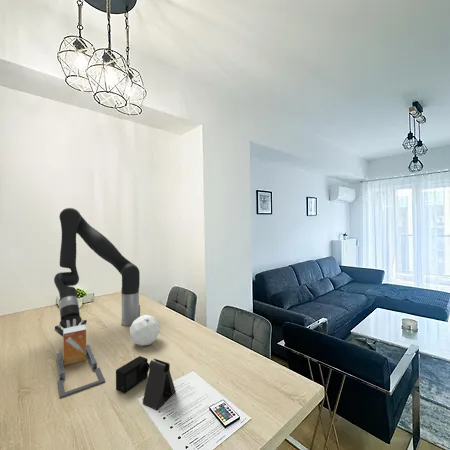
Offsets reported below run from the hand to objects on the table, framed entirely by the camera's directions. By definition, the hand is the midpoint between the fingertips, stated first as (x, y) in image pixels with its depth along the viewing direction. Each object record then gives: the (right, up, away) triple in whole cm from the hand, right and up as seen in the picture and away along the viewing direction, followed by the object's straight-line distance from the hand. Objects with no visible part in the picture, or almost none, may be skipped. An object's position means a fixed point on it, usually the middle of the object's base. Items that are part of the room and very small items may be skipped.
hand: (72, 344), depth 108 cm
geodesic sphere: (+28, -4, +10) cm, 30 cm away
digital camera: (+33, -5, -20) cm, 39 cm away
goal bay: (+14, -5, -18) cm, 23 cm away
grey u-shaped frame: (+6, -4, -7) cm, 10 cm away
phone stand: (+45, -5, -27) cm, 52 cm away
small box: (+3, -5, -4) cm, 7 cm away
